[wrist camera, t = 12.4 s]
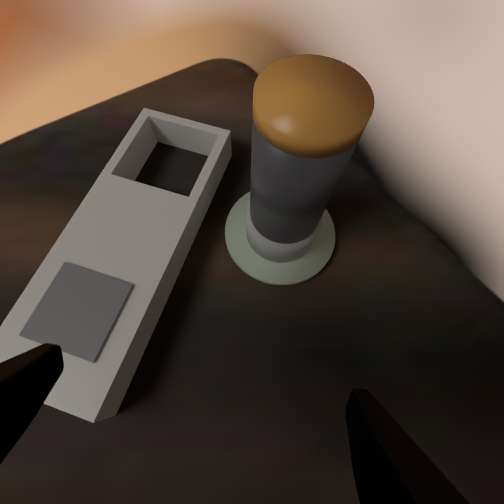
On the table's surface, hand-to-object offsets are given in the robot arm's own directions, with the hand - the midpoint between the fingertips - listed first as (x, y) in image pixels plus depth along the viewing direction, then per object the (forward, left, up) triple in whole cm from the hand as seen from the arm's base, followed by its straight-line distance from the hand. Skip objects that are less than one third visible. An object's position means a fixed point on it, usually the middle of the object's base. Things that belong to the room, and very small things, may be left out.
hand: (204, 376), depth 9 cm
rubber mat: (-1, -12, -12) cm, 17 cm away
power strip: (+10, -7, -12) cm, 17 cm away
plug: (-1, -12, -11) cm, 16 cm away
